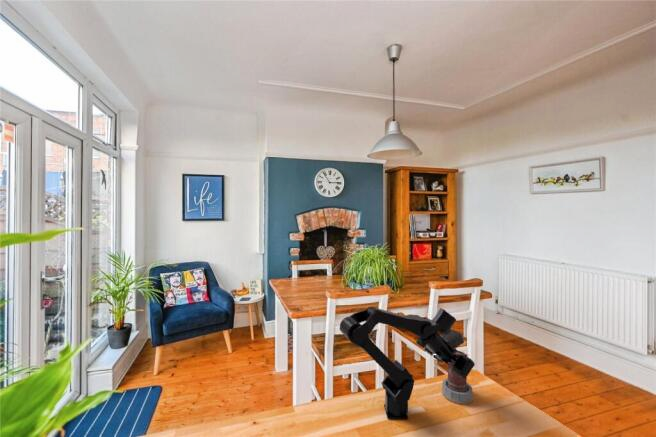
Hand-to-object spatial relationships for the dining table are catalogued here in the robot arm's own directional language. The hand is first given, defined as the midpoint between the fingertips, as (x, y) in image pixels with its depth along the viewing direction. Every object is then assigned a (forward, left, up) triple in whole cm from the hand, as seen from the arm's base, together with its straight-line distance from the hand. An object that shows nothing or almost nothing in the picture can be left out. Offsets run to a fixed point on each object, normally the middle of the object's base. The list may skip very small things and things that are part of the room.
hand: (460, 369), depth 106 cm
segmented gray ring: (-1, 0, -9) cm, 9 cm away
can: (-1, -1, -8) cm, 8 cm away
